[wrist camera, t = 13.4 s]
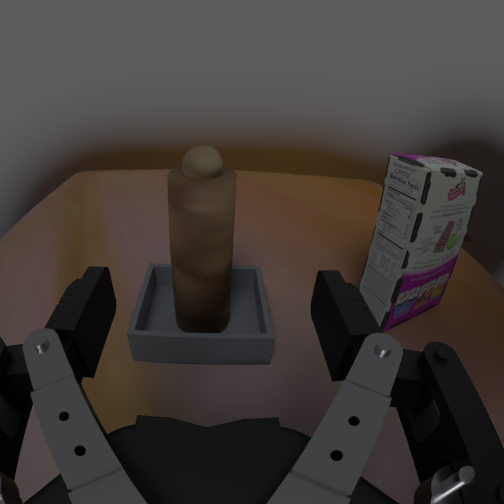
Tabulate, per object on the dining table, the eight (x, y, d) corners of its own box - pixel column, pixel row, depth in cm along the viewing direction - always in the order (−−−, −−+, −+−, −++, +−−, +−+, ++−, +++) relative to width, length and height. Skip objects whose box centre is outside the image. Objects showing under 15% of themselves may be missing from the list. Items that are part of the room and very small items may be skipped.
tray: (257, 290, 33) (260, 266, 32) (269, 363, 24) (274, 338, 23) (152, 288, 32) (149, 263, 30) (133, 360, 23) (126, 334, 22)
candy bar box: (411, 283, 37) (449, 157, 29) (439, 305, 33) (485, 173, 25) (348, 305, 32) (388, 149, 24) (379, 335, 28) (434, 167, 20)
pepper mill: (228, 302, 30) (237, 140, 23) (230, 337, 26) (240, 154, 19) (178, 301, 30) (173, 139, 22) (173, 336, 25) (161, 152, 18)
